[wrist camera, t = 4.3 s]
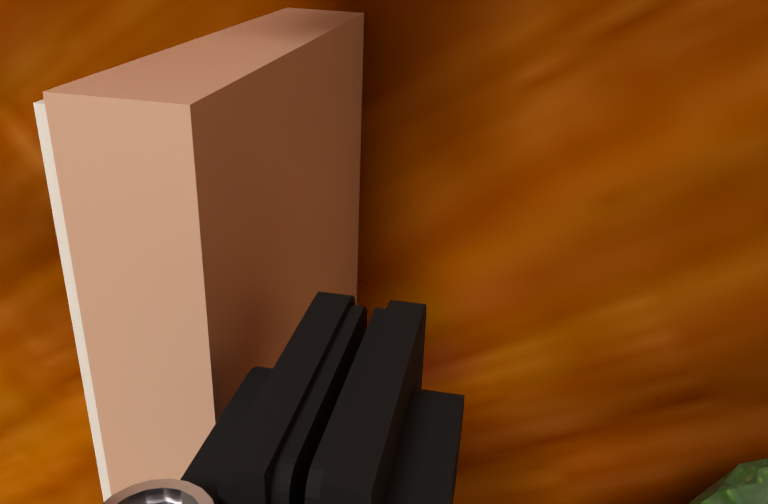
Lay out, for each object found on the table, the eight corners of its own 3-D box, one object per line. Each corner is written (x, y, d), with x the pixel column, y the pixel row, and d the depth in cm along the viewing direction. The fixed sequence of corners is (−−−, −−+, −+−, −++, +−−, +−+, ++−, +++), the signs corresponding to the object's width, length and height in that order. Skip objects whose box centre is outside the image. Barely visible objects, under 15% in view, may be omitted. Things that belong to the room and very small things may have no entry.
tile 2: (272, 6, 16) (15, 89, 8) (364, 12, 16) (190, 104, 8) (282, 339, 20) (113, 616, 12) (355, 349, 20) (233, 642, 12)
